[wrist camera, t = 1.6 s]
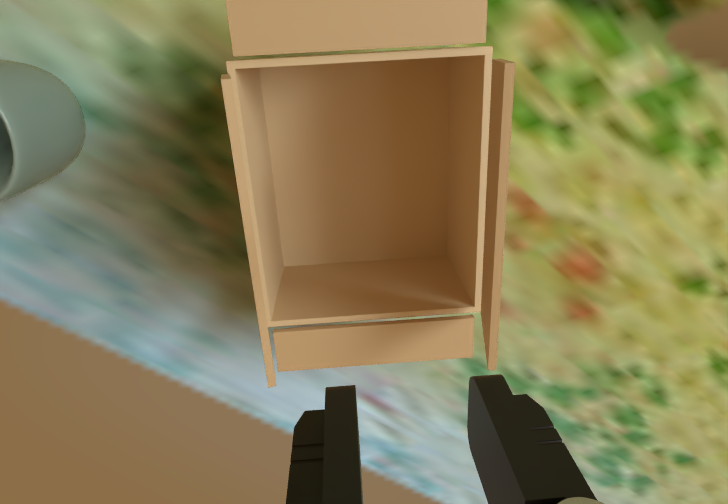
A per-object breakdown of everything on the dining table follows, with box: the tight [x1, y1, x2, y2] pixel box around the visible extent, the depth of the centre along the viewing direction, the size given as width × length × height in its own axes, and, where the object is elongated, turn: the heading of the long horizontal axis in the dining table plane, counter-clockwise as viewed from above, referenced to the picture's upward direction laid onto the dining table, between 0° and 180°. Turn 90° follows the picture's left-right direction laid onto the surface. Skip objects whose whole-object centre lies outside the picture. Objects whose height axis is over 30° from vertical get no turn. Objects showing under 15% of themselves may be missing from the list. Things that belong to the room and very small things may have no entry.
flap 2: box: [481, 59, 515, 370], centre depth 25 cm, size 15×6×1 cm
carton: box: [225, 0, 493, 372], centre depth 33 cm, size 22×14×9 cm, turn 3°
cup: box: [0, 60, 85, 202], centre depth 30 cm, size 8×8×10 cm
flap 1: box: [221, 74, 276, 387], centre depth 25 cm, size 15×6×1 cm
